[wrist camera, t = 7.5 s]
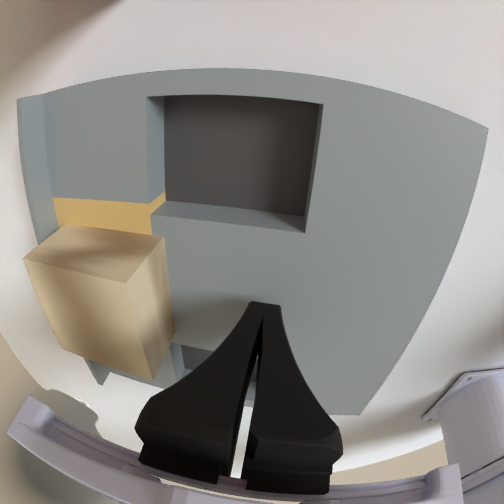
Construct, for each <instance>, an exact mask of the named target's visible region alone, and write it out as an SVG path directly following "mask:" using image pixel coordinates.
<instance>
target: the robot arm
mask: <svg viewBox="0 0 504 504" xmlns="http://www.w3.org/2000/svg"><path fill="white" fill-rule="evenodd" d="M257 356H258V361H257V376H256V391H255V401H254V406H253V412H252V418H251V423H250V428H249V434H248V440H247V446H246V451H245V457H244V462H243V467H242V473H241V478H240V479H238V478H232V477H230V475H231V470H232V465H233V460H234V455H235V449H236V444H237V439H238V434H239V429H240V423H241V418H242V413H243V408H244V402H245V398H246V394H247V391H248V387H249V384H250V381H251V377H252V374H253V370H254V367H255V363H256V360H257ZM438 420H440V423H441V428H442V432H443V437H444V442H445V447H446V453H447V459H448V465H447V466H443V467H439V468H436V469H434V470H432V471H430V472H428V473H427V474H426V475H422V476H417V477H411V478H406V479H400V480H392V481H385V482H376V483H365V484H351V485H330V484H329V483H330V475H331V474H332V465H333V464H334V463H335V462H336V461H337V460H338V459H339V458H340V457H341V456H342V455H343V444H342V439H341V434H340V431H339V428H338V426H337V425H336V424H335V423H334V422H333V420H332V419H331V418H330V417H329V415H328V414H327V413H326V412H325V410H324V409H323V408H322V406H321V405H320V403H319V402H318V401H317V399H316V397H315V396H314V394H313V393H312V391H311V389H310V388H309V386H308V385H307V383H306V381H305V379H304V377H303V375H302V373H301V371H300V369H299V367H298V365H297V363H296V360H295V358H294V355H293V353H292V350H291V347H290V345H289V341H288V338H287V335H286V331H285V328H284V323H283V318H282V310H281V306H280V305H276V304H269V303H262V302H255V301H251V302H249V304H248V306H247V308H246V310H245V312H244V313H243V315H242V317H241V318H240V320H239V321H238V323H237V324H236V326H235V327H234V328H233V330H232V331H231V332H230V334H229V335H228V336H227V337H226V338H225V340H224V341H223V342H222V343H221V344H220V345H219V347H218V348H217V349H216V350H215V351H214V352H213V353H212V354H211V355H210V356H209V357H208V358H207V359H206V360H205V361H203V362H202V363H201V364H200V365H199V366H198V367H196V368H195V369H194V370H193V371H192V372H190V373H189V374H188V375H186V376H185V377H183V378H182V379H180V380H179V381H178V382H176V383H175V384H173V385H172V386H170V387H168V388H167V389H165V390H163V391H161V392H159V393H158V394H156V395H154V396H152V397H151V398H150V399H149V400H148V402H147V403H146V405H145V406H144V408H143V409H142V411H141V413H140V415H139V418H138V420H137V422H136V425H135V427H134V428H135V431H136V433H137V434H138V436H139V437H140V439H141V440H142V442H143V443H144V445H143V447H142V450H141V453H138V452H135V451H132V450H129V449H127V448H124V447H122V446H119V445H117V444H114V443H112V442H110V441H107V440H105V439H103V438H100V437H98V436H96V435H94V434H92V433H90V432H87V431H85V430H83V429H81V428H79V427H77V426H75V425H73V424H72V423H70V422H68V421H66V420H64V419H62V418H61V417H58V416H57V415H56V414H55V413H54V411H53V410H52V409H51V408H50V407H49V406H47V405H46V404H44V403H43V402H41V401H39V400H38V399H36V398H35V397H33V396H32V395H28V397H27V399H26V400H25V402H24V404H23V405H22V407H21V409H20V411H19V412H18V414H17V415H16V417H15V419H14V420H13V422H12V424H11V426H10V427H9V429H8V431H7V433H8V434H9V435H10V436H11V437H12V438H13V439H15V440H16V441H17V442H18V443H20V444H21V445H22V446H24V447H25V448H26V449H27V450H29V451H30V452H31V453H33V454H34V455H36V456H37V457H38V458H40V459H41V460H43V461H44V462H46V463H47V464H49V465H51V466H52V467H54V468H55V469H57V470H58V471H60V472H62V473H63V474H65V475H67V476H68V477H70V478H72V479H74V480H75V481H77V482H79V483H81V484H83V485H85V486H86V487H88V488H90V489H92V490H94V491H96V492H98V493H100V494H102V495H104V496H107V497H109V498H111V499H113V500H115V501H118V502H120V503H119V504H273V503H266V502H259V501H252V500H244V499H237V498H230V497H225V496H220V495H215V494H210V493H206V492H201V491H197V490H193V489H188V488H184V487H180V486H174V485H167V484H163V483H161V481H160V479H159V478H157V477H160V478H163V479H166V480H169V481H173V482H176V483H180V484H183V485H187V486H191V487H195V488H200V489H204V490H208V491H214V492H218V493H223V494H229V495H235V496H242V497H249V498H257V499H266V500H277V501H293V502H300V503H299V504H504V369H496V370H489V371H480V372H470V373H464V374H463V375H461V376H460V377H459V379H458V380H457V381H456V382H455V383H454V385H453V386H452V387H451V388H450V389H449V390H448V391H447V392H446V394H445V395H444V396H443V397H442V398H441V399H440V400H439V401H438V402H437V403H436V404H435V405H434V406H433V407H432V408H431V409H430V410H429V411H428V412H427V413H426V414H425V415H424V416H423V417H422V422H430V421H438ZM152 475H153V476H152ZM155 476H156V477H155Z"/></svg>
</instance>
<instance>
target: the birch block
mask: <svg viewBox="0 0 504 504" xmlns="http://www.w3.org/2000/svg"><path fill="white" fill-rule="evenodd" d="M23 260H24V263H25V266H26V269H27V271H28V274H29V277H30V279H31V282H32V285H33V287H34V290H35V292H36V295H37V297H38V299H39V302H40V304H41V306H42V308H43V311H44V313H45V315H46V317H47V319H48V322H49V324H50V326H51V328H52V330H53V332H54V334H55V336H56V338H57V340H58V342H59V343H60V345H61V347H62V348H63V349H65V350H67V351H70V352H72V353H74V354H77V355H79V356H82V357H84V358H87V359H89V360H92V361H95V362H97V363H100V364H103V365H105V366H108V367H111V368H114V369H117V370H120V371H123V372H126V373H129V374H132V375H135V376H138V377H142V378H145V379H148V380H152V381H154V379H155V376H156V374H157V372H158V370H159V368H160V365H161V363H162V361H163V359H164V356H165V354H166V352H167V350H168V348H169V346H170V343H171V341H172V339H173V337H174V335H175V333H176V330H175V324H174V317H173V310H172V303H171V295H170V287H169V279H168V270H167V261H166V250H165V239H164V236H157V235H149V234H142V233H134V232H126V231H118V230H111V229H103V228H95V227H87V226H79V225H72V224H65V225H64V226H63V227H61V228H60V229H59V230H57V231H56V232H55V233H53V234H52V235H51V236H49V237H48V238H47V239H46V240H44V241H43V242H42V243H41V244H39V245H38V246H37V247H36V248H34V249H33V250H32V251H31V252H30V253H28V254H27V255H26V256H25V257H24V258H23Z"/></svg>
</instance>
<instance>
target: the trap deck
mask: <svg viewBox="0 0 504 504" xmlns="http://www.w3.org/2000/svg"><path fill="white" fill-rule="evenodd" d="M17 119H18V135H19V146H20V155H21V163H22V171H23V177H24V183H25V189H26V194H27V199H28V204H29V209H30V213H31V218H32V222H33V226H34V230H35V234H36V237H37V241H38V245H39V244H41V243H42V242H43V241H44V240H46V239H47V238H48V237H49V236H51V235H52V234H53V233H55V232H56V231H57V230H59V229H60V228H61V227H63V226H64V225H65V224H72V225H79V226H87V227H95V228H103V229H111V230H118V231H126V232H134V233H142V234H149V235H157V236H164V239H165V250H166V261H167V270H168V279H169V287H170V295H171V303H172V310H173V317H174V324H175V330H176V333H175V335H174V337H173V339H172V341H171V343H170V346H169V348H168V350H167V352H166V354H165V356H164V359H163V361H162V363H161V365H160V368H159V370H158V372H157V374H156V376H155V379H154V381H152V380H148V379H145V378H142V377H138V376H135V375H132V374H129V373H126V372H123V371H120V370H117V369H114V368H111V367H108V366H105V365H103V364H100V363H97V362H95V361H92V360H89V359H87V358H84V359H85V361H86V363H87V365H88V367H89V368H90V370H91V372H92V374H93V376H94V377H95V379H96V381H97V383H98V384H100V385H103V383H104V381H105V380H106V378H107V376H108V374H109V372H112V373H115V374H118V375H121V376H124V377H127V378H130V379H133V380H136V381H139V382H143V383H146V384H149V385H153V386H156V387H160V388H163V389H167V388H168V387H170V386H172V385H173V384H175V383H176V382H178V381H179V380H180V379H182V378H183V377H185V376H186V375H188V374H189V373H190V372H192V371H193V370H194V369H195V368H196V367H198V366H199V365H200V364H201V363H202V362H203V361H205V360H206V359H207V358H208V357H209V356H210V355H211V354H212V353H213V352H214V351H215V350H216V349H217V348H218V347H219V345H220V344H221V343H222V342H223V341H224V340H225V338H226V337H227V336H228V335H229V334H230V332H231V331H232V330H233V328H234V327H235V326H236V324H237V323H238V321H239V320H240V318H241V317H242V315H243V313H244V312H245V310H246V308H247V306H248V304H249V302H251V301H255V302H262V303H269V304H276V305H280V306H281V310H282V318H283V323H284V328H285V331H286V335H287V338H288V341H289V345H290V347H291V350H292V353H293V355H294V358H295V360H296V363H297V365H298V367H299V369H300V371H301V373H302V375H303V377H304V379H305V381H306V383H307V385H308V386H309V388H310V389H311V391H312V393H313V394H314V396H315V397H316V399H317V401H318V402H319V403H320V405H321V406H322V408H323V409H324V410H325V412H326V413H327V414H328V415H360V413H361V412H362V411H363V410H364V408H365V407H366V406H367V404H368V403H369V402H370V400H371V399H372V398H373V396H374V395H375V394H376V392H377V391H378V389H379V388H380V387H381V385H382V384H383V382H384V381H385V380H386V378H387V377H388V375H389V374H390V372H391V371H392V369H393V368H394V366H395V365H396V363H397V361H398V360H399V358H400V357H401V355H402V354H403V352H404V350H405V349H406V347H407V345H408V344H409V342H410V340H411V339H412V337H413V335H414V333H415V332H416V330H417V328H418V326H419V325H420V323H421V321H422V319H423V317H424V315H425V313H426V312H427V310H428V308H429V306H430V304H431V302H432V300H433V298H434V296H435V294H436V292H437V290H438V287H439V285H440V283H441V281H442V279H443V277H444V274H445V272H446V270H447V268H448V265H449V263H450V260H451V258H452V256H453V253H454V251H455V248H456V246H457V243H458V240H459V238H460V235H461V232H462V229H463V226H464V224H465V221H466V218H467V215H468V212H469V208H470V205H471V202H472V199H473V195H474V192H475V188H476V184H477V181H478V177H479V173H480V169H481V164H482V160H483V155H484V150H485V145H486V140H487V134H488V128H487V127H485V126H483V125H481V124H478V123H476V122H474V121H472V120H470V119H467V118H465V117H463V116H460V115H458V114H455V113H453V112H450V111H448V110H445V109H443V108H440V107H437V106H435V105H432V104H429V103H426V102H423V101H420V100H417V99H414V98H411V97H408V96H405V95H401V94H398V93H394V92H391V91H387V90H383V89H380V88H376V87H372V86H367V85H363V84H359V83H354V82H349V81H344V80H339V79H334V78H328V77H322V76H315V75H308V74H301V73H292V72H283V71H272V70H257V69H232V68H207V69H181V70H167V71H156V72H147V73H138V74H131V75H124V76H118V77H112V78H106V79H101V80H96V81H91V82H87V83H82V84H78V85H74V86H70V87H66V88H62V89H58V90H55V91H51V92H48V93H45V94H40V95H34V96H29V97H24V98H20V99H17ZM257 361H258V356H257V360H256V363H255V367H254V370H253V374H252V377H251V381H250V384H249V387H248V391H247V394H246V398H245V402H244V406H248V407H253V406H254V401H255V391H256V376H257Z"/></svg>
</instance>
